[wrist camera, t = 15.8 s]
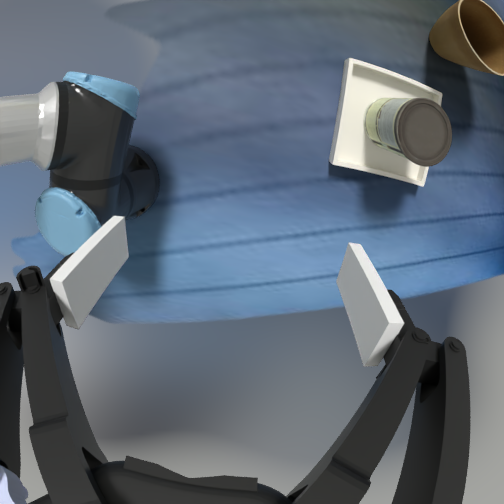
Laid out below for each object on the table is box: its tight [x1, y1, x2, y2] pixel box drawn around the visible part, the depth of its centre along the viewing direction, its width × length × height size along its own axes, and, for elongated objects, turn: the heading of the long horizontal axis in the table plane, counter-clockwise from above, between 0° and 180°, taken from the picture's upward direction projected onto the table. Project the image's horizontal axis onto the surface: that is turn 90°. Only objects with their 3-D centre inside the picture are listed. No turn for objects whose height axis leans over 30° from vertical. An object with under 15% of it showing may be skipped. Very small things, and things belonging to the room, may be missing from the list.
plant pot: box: [429, 0, 504, 76], centre depth 25 cm, size 15×15×16 cm
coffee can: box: [364, 98, 452, 167], centre depth 36 cm, size 10×10×14 cm
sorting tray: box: [329, 58, 442, 187], centre depth 42 cm, size 20×20×3 cm
